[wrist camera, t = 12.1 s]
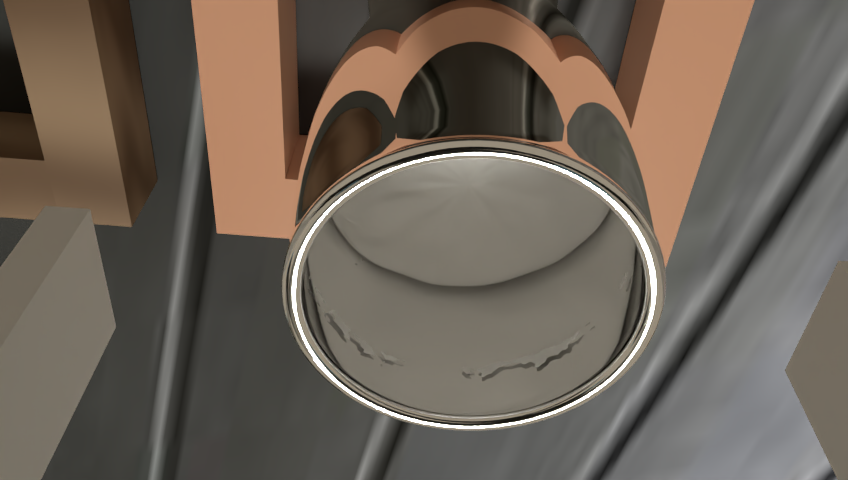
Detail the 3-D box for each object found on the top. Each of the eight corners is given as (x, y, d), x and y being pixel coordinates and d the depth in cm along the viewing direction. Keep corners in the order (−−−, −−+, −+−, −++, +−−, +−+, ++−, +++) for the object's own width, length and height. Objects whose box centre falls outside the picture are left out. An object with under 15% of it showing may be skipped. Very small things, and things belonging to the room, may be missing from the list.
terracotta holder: (649, 217, 30) (665, 266, 28) (235, 186, 30) (217, 233, 28) (797, -273, 21) (841, -262, 18) (190, -327, 20) (155, -323, 18)
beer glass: (334, -101, 24) (215, 155, 12) (567, -134, 23) (694, 103, 11) (375, 105, 28) (318, 450, 16) (573, 83, 27) (670, 427, 15)
